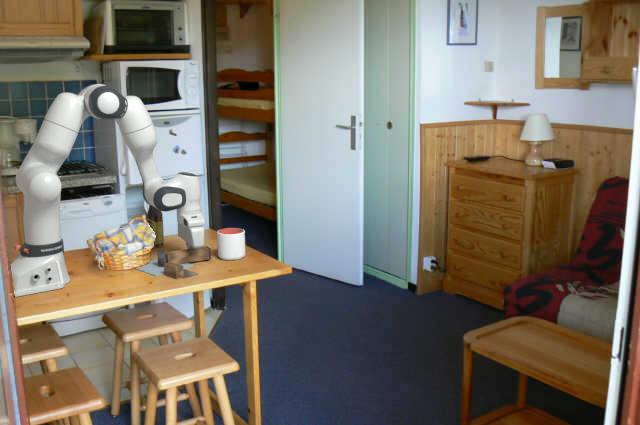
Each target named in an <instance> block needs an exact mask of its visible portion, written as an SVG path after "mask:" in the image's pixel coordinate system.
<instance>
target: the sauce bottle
mask: <svg viewBox="0 0 640 425" xmlns="http://www.w3.org/2000/svg"><path fill="white" fill-rule="evenodd" d="M145 218H146V223H147V222H148V223H149V225H150V227H151V228H152V229H153V231H154V232H155V235H156V238H155V241H154V248H162V247H164V245H165V244H164V242H165V237H164V236H165V235H164V233H165V232H164V219H163V218H164V217H163V211H160V210H158V209H157V208H155V207H153V206H151V205H149V204H148V211H147V214H146V217H145Z"/></svg>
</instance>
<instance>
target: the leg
mask: <svg viewBox="0 0 640 425" xmlns="http://www.w3.org/2000/svg"><path fill="white" fill-rule="evenodd" d="M156 255H157V258H156V259H157V260H158V266H164V263H168V262H173V263H176V264H182V263H189V264H190V263H193V262H194V263H195V262H201V261H207V260H212V248H211V247H209V246H207V245H205V246H203V247H200V248H192V249H187V248H184V249H178V250H172V251H165V250H163V251H161V250H160V251H157V253H156Z"/></svg>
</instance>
